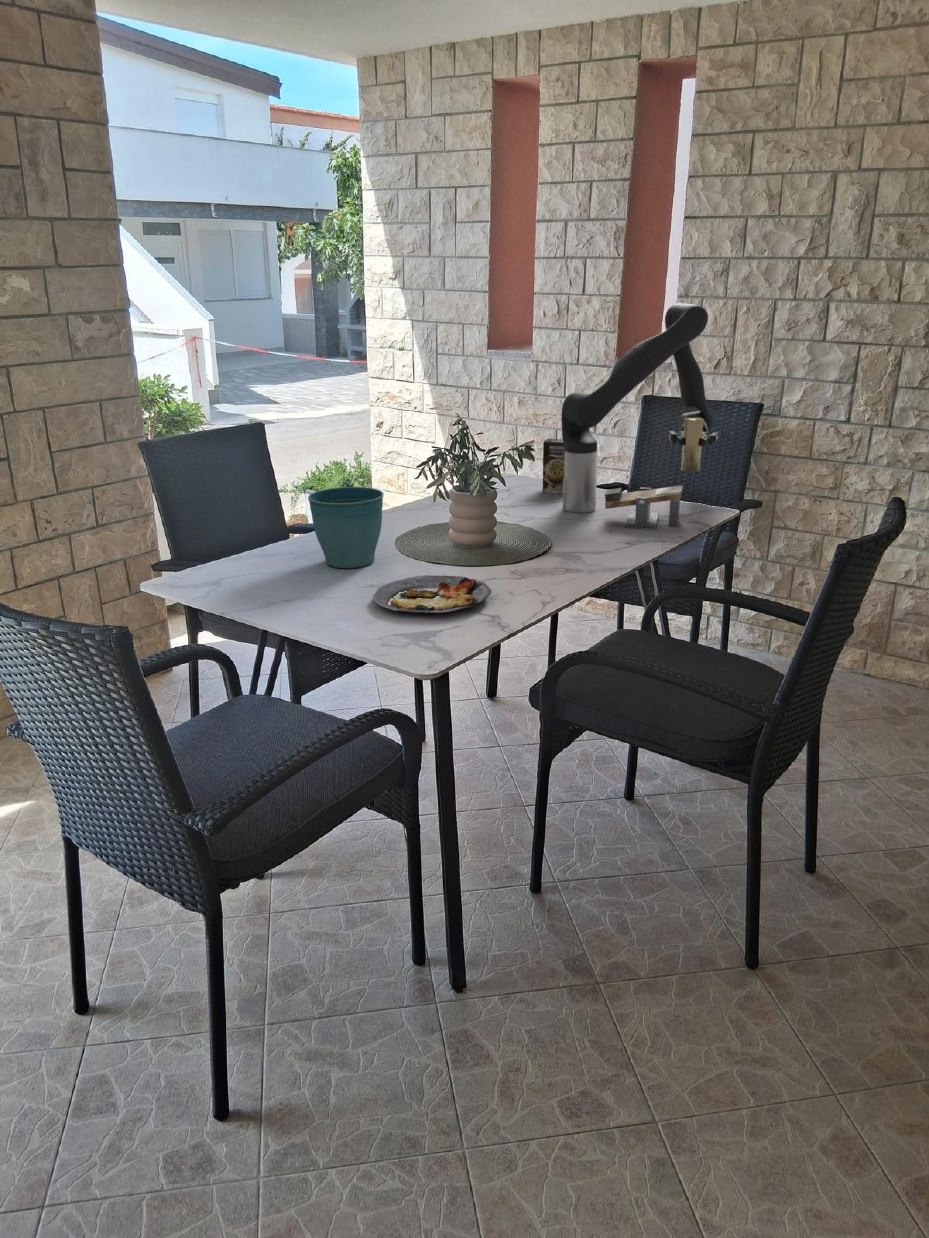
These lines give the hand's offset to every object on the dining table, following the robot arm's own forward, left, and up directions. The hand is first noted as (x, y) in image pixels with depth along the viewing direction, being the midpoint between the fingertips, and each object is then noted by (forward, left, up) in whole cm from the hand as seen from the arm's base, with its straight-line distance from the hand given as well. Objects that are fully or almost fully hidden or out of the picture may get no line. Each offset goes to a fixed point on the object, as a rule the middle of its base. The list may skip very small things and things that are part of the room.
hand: (692, 442), depth 256 cm
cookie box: (-41, +25, -21) cm, 52 cm away
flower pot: (-79, -58, -21) cm, 100 cm away
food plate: (-51, -81, -21) cm, 98 cm away
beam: (-12, -8, -14) cm, 20 cm away
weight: (0, +2, -8) cm, 8 cm away
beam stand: (-9, -8, -21) cm, 24 cm away
